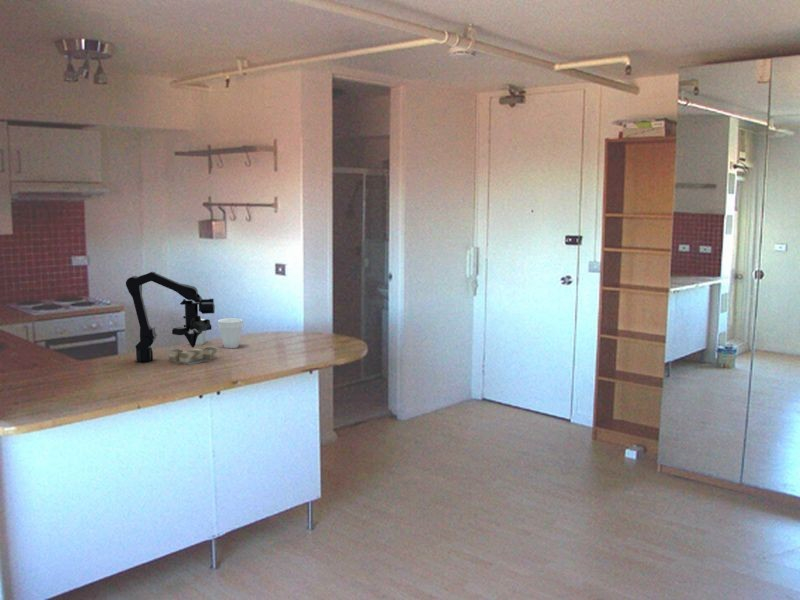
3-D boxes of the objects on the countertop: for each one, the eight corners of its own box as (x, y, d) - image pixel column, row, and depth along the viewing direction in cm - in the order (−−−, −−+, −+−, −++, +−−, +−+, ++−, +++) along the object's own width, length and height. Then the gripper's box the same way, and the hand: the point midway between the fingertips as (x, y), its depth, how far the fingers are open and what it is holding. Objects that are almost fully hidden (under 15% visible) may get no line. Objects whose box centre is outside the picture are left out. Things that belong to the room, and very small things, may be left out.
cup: (216, 345, 371) (215, 319, 369) (240, 343, 376) (239, 317, 374) (221, 350, 360) (220, 322, 358) (246, 348, 365) (245, 321, 363)
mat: (189, 365, 327) (189, 364, 327) (169, 361, 335) (169, 360, 335) (218, 358, 341) (218, 357, 341) (197, 354, 349) (197, 354, 349)
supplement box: (202, 345, 372) (201, 320, 370) (188, 345, 372) (187, 320, 370) (206, 342, 379) (206, 318, 378) (192, 342, 380) (191, 318, 378)
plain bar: (186, 362, 332) (185, 353, 331) (179, 361, 334) (179, 352, 333) (206, 357, 342) (206, 349, 341) (199, 356, 344) (199, 348, 343)
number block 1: (175, 361, 333) (175, 351, 332) (169, 360, 335) (168, 350, 335) (183, 359, 337) (183, 349, 336) (176, 358, 339) (176, 348, 338)
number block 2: (210, 359, 338) (209, 349, 337) (203, 358, 340) (203, 348, 339) (217, 357, 341) (217, 347, 341) (210, 356, 344) (210, 346, 343)
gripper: (187, 318, 323) (188, 352, 325) (219, 312, 338) (220, 345, 340) (170, 316, 329) (172, 350, 331) (202, 310, 344) (203, 343, 346)
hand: (192, 347), depth 337 cm, fingers closed
